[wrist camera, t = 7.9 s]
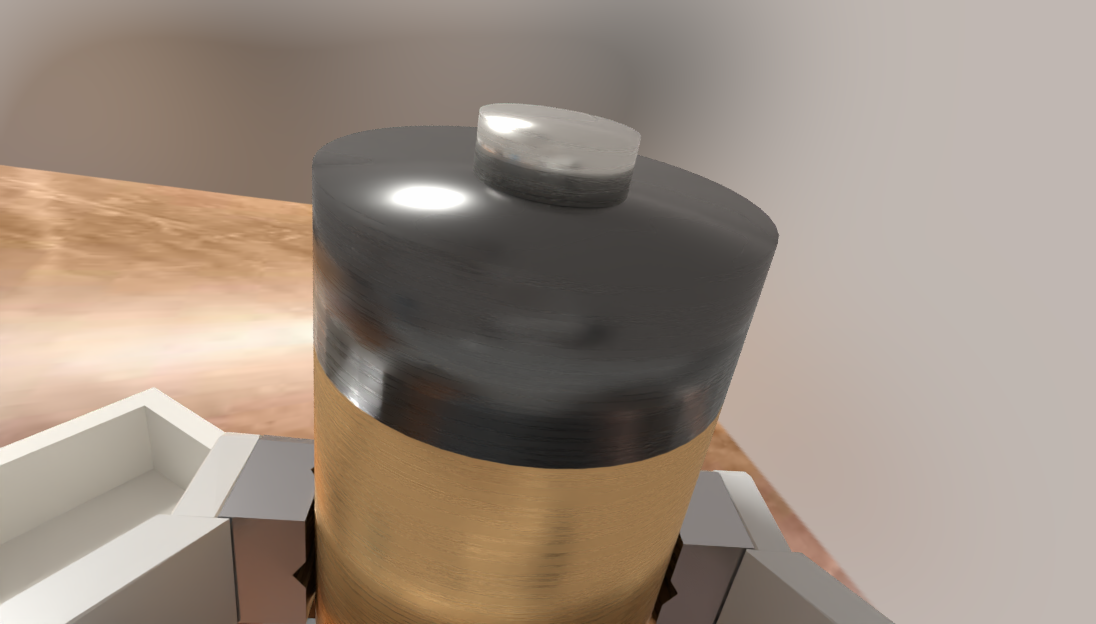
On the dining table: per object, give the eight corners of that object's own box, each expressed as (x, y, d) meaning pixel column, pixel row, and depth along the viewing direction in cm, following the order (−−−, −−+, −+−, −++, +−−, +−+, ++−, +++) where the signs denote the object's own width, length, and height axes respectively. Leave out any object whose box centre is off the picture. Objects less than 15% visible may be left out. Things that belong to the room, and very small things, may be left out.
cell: (255, 812, 11) (191, 77, 5) (438, 619, 14) (504, 72, 9) (477, 1042, 9) (705, 249, 3) (622, 750, 12) (837, 155, 7)
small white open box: (-120, 604, 16) (-159, 511, 14) (164, 462, 21) (153, 386, 20) (29, 786, 13) (-3, 690, 11) (311, 567, 18) (310, 486, 17)
